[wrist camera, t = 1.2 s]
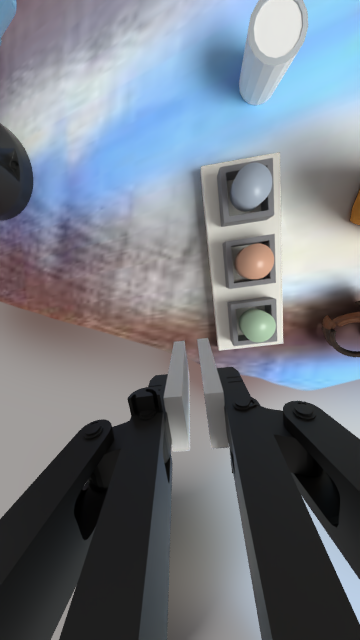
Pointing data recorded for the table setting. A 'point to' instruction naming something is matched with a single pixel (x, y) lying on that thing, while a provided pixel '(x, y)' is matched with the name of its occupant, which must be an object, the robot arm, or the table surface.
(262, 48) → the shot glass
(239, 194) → the slate button
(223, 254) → the button panel
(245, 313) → the sage button
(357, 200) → the coffee package
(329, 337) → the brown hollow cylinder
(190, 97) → the table surface
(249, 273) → the terracotta button
